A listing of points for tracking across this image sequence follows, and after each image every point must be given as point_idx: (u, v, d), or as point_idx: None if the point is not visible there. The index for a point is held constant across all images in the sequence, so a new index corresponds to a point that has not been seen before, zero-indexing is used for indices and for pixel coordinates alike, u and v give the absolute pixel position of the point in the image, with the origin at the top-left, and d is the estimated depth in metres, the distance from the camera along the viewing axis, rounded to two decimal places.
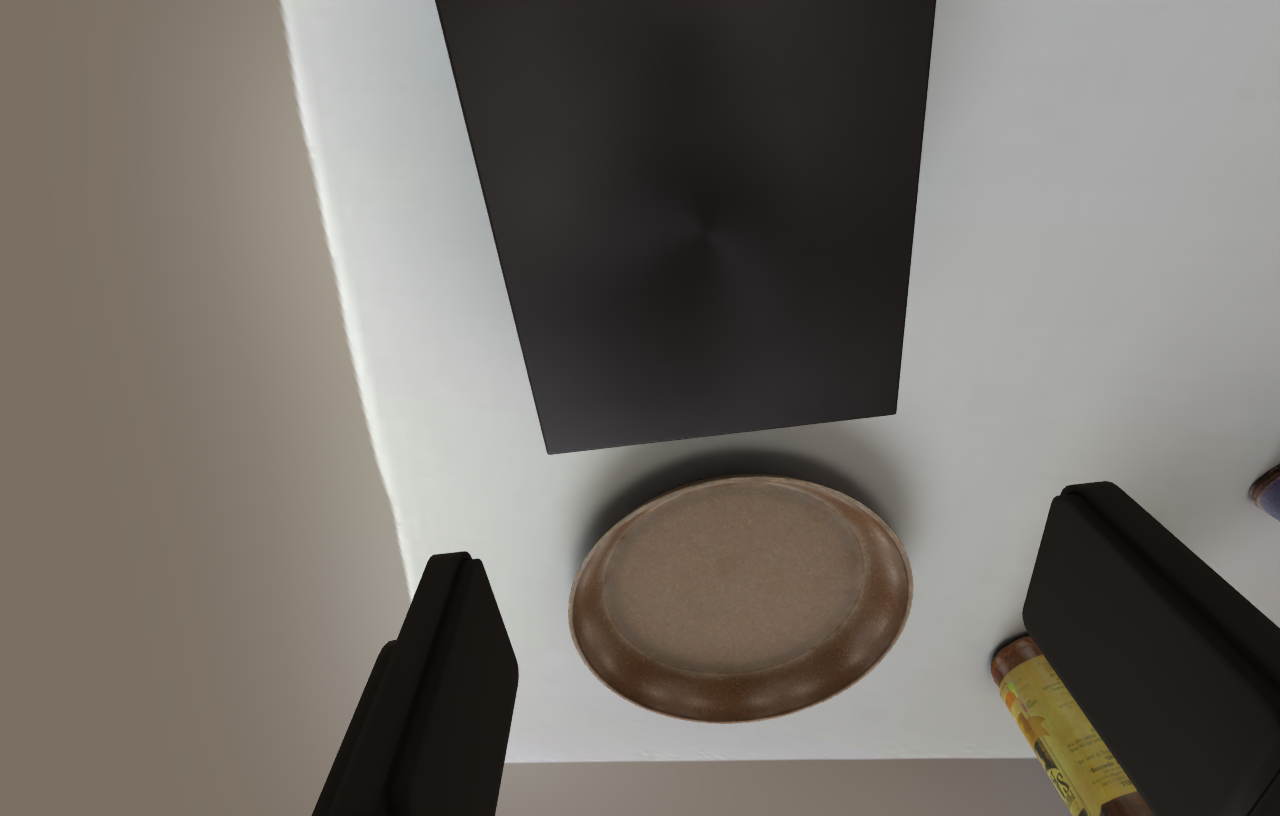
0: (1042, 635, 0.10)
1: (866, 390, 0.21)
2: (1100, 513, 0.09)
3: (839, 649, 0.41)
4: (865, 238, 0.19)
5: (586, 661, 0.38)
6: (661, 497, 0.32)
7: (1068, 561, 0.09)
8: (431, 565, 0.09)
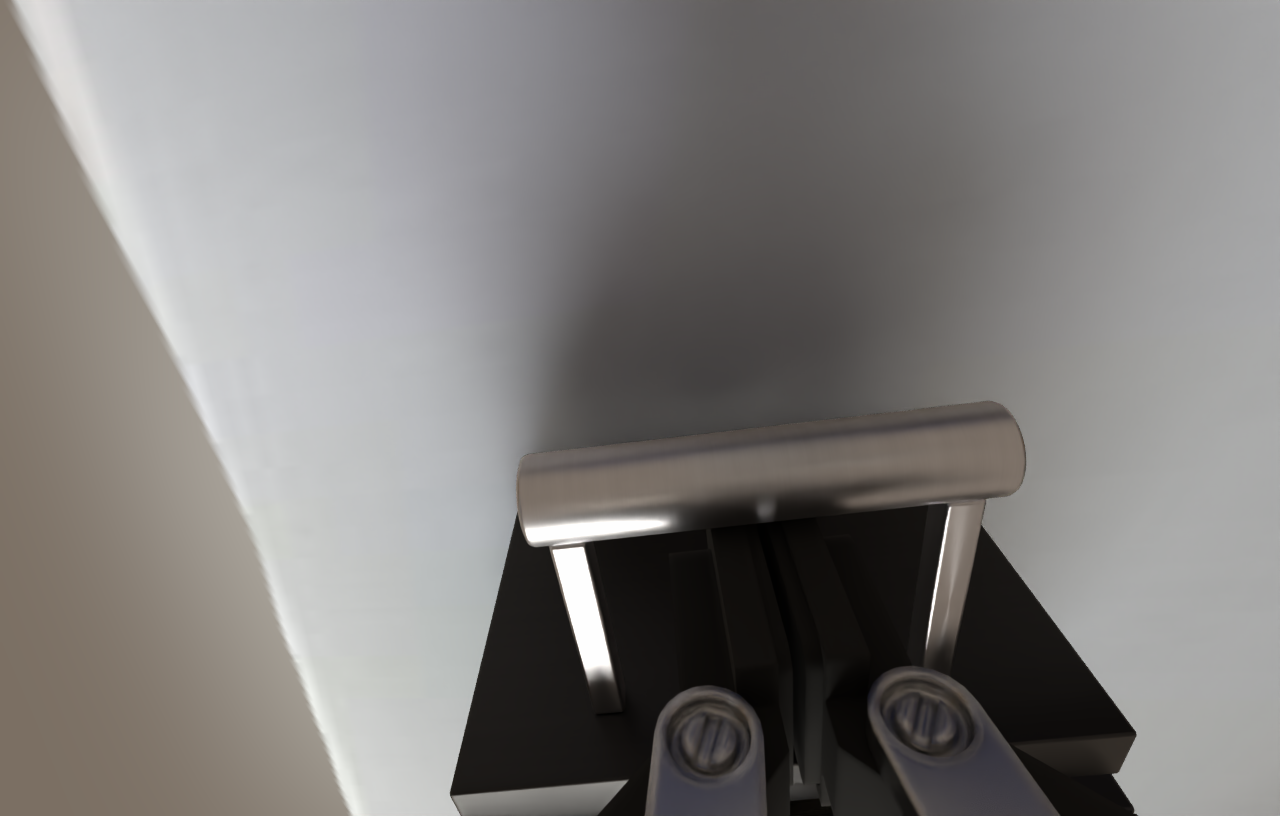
0: None
1: None
2: None
3: None
4: None
5: None
6: None
7: (759, 536, 0.10)
8: None
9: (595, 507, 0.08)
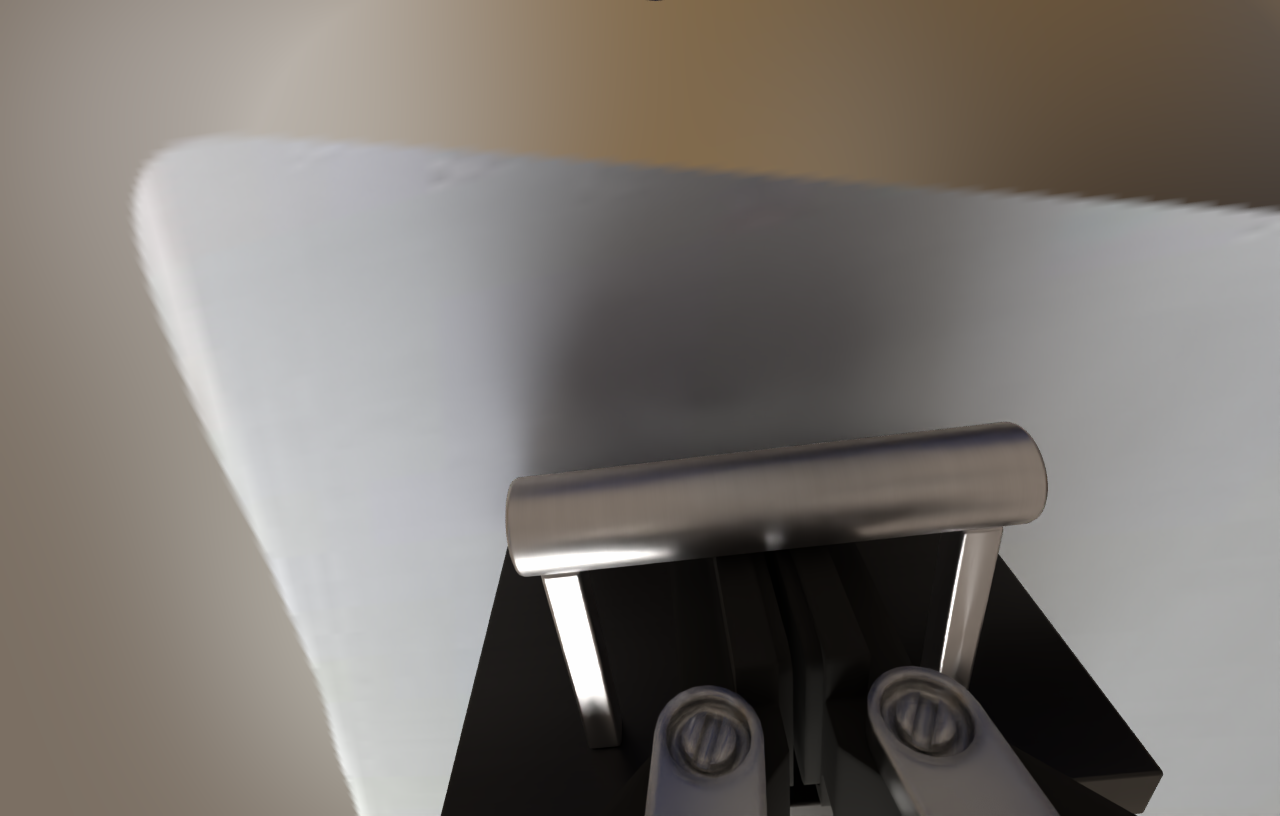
0: None
1: None
2: None
3: None
4: None
5: None
6: None
7: None
8: None
9: (589, 535, 0.08)
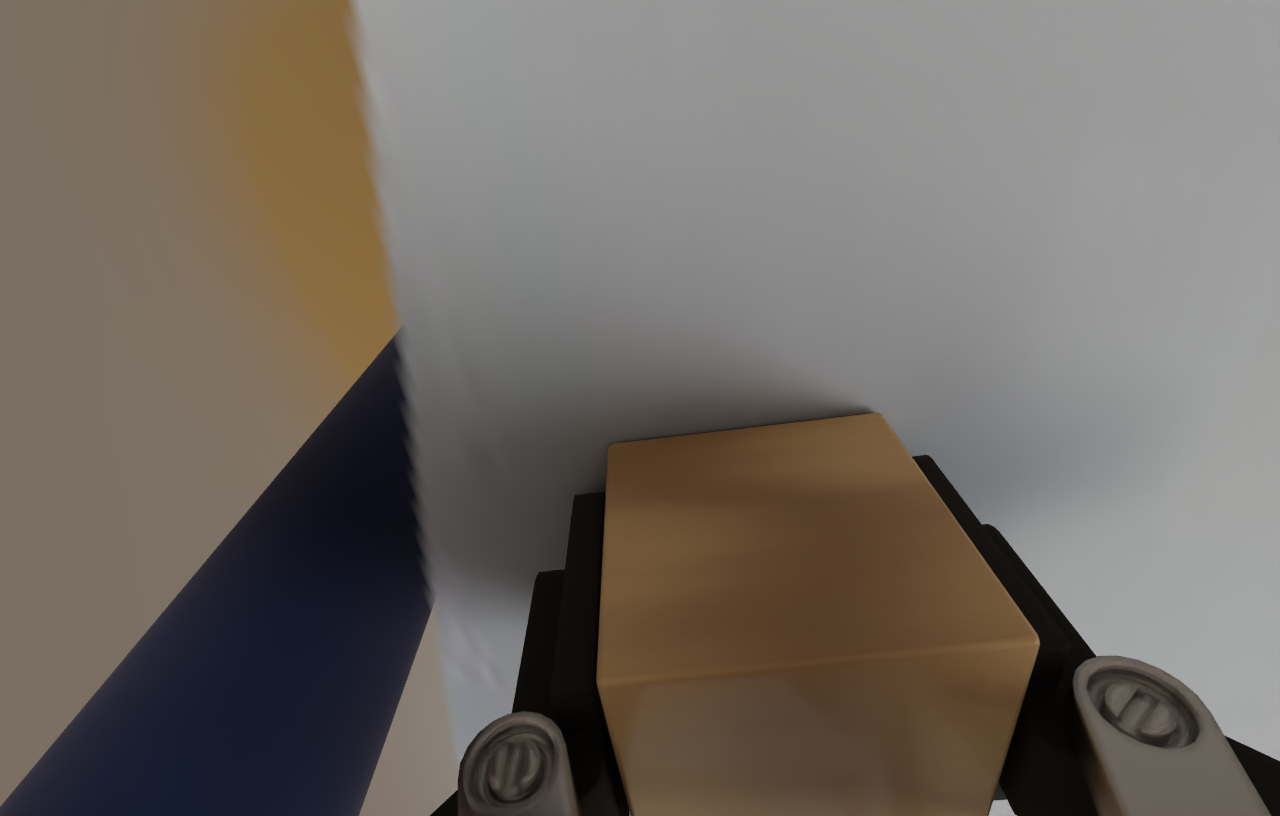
0: None
1: None
2: None
3: None
4: None
5: None
6: None
7: None
8: (578, 502, 0.10)
9: None
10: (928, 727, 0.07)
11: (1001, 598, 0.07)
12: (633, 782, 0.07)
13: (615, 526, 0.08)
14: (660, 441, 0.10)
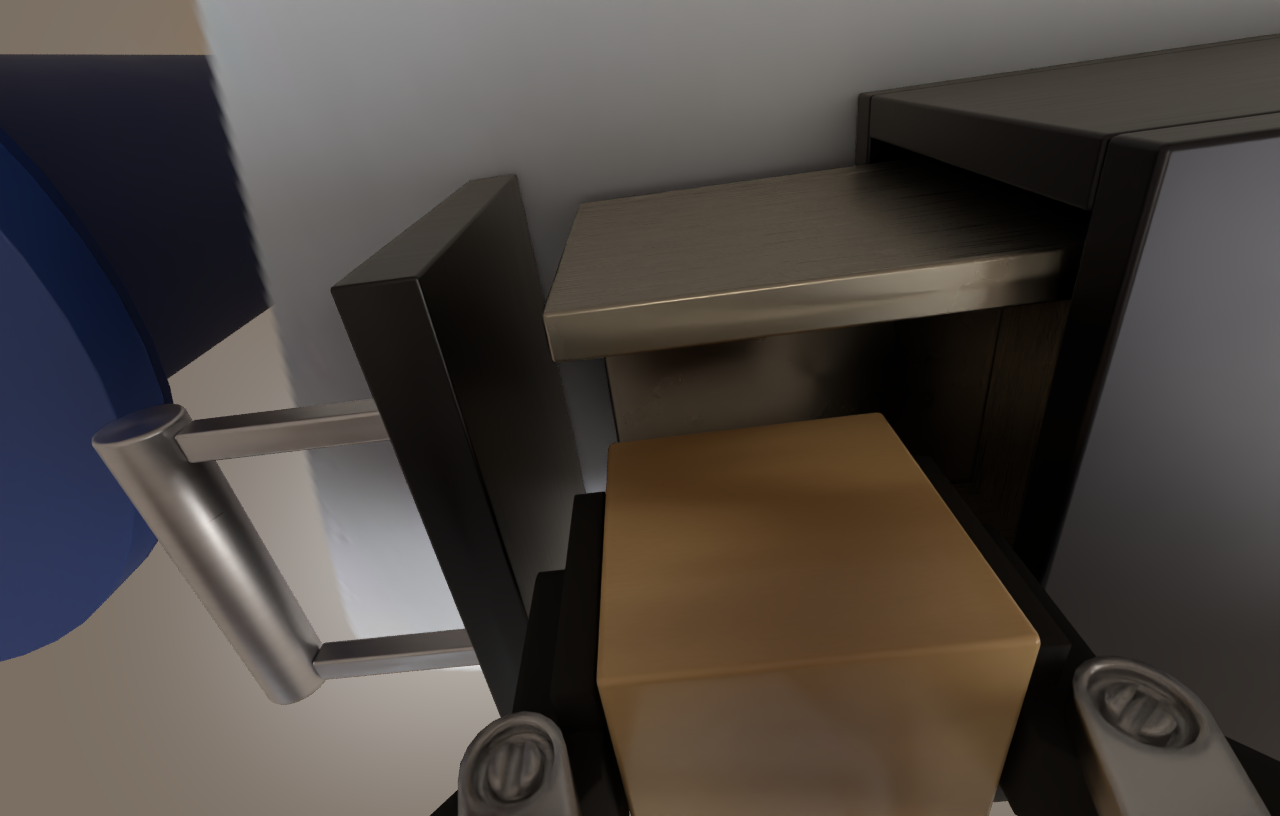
0: None
1: None
2: None
3: None
4: None
5: None
6: None
7: None
8: (578, 502, 0.10)
9: (254, 673, 0.13)
10: (928, 726, 0.07)
11: (1001, 596, 0.07)
12: (634, 781, 0.07)
13: (615, 525, 0.08)
14: (660, 441, 0.10)
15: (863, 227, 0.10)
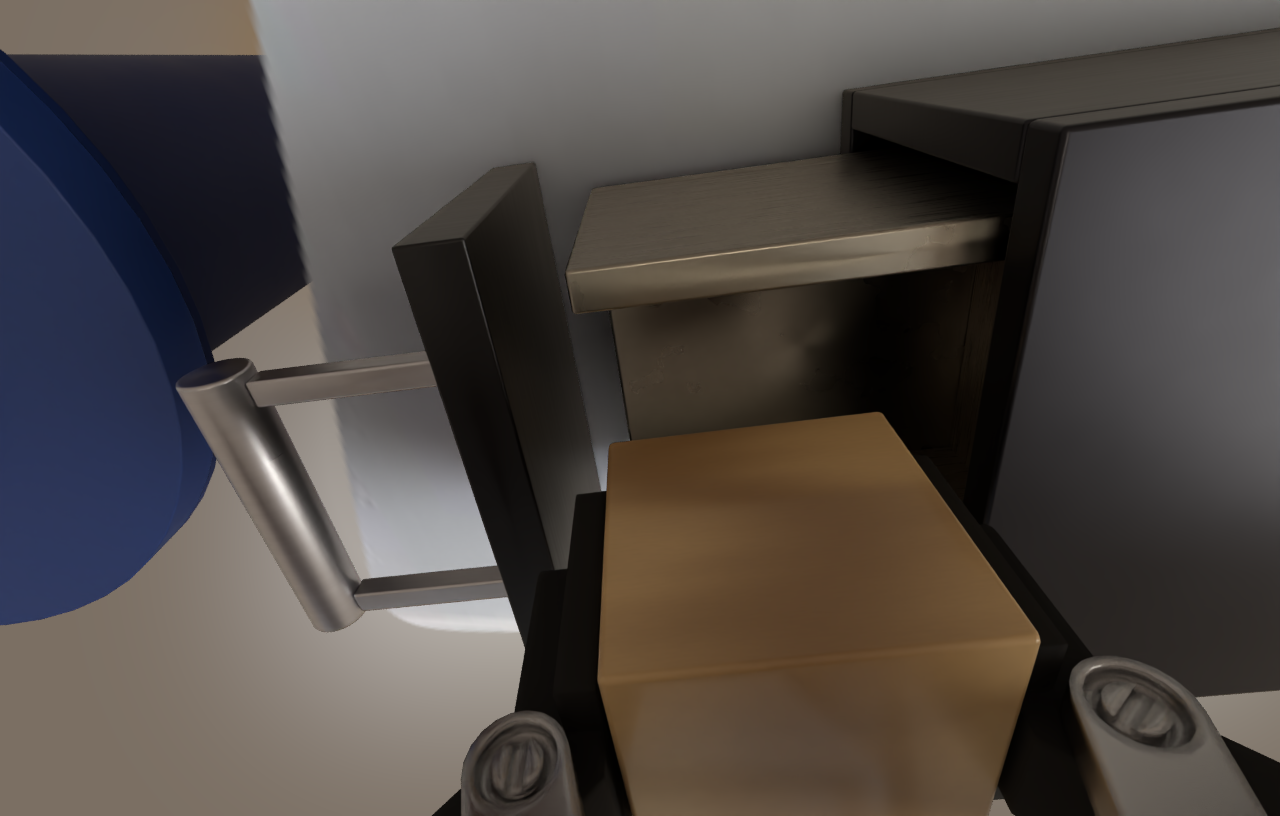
0: None
1: None
2: None
3: None
4: None
5: None
6: None
7: None
8: (580, 502, 0.10)
9: (303, 601, 0.15)
10: (929, 726, 0.07)
11: (1002, 596, 0.07)
12: (634, 780, 0.07)
13: (616, 525, 0.08)
14: (661, 440, 0.10)
15: (838, 202, 0.12)
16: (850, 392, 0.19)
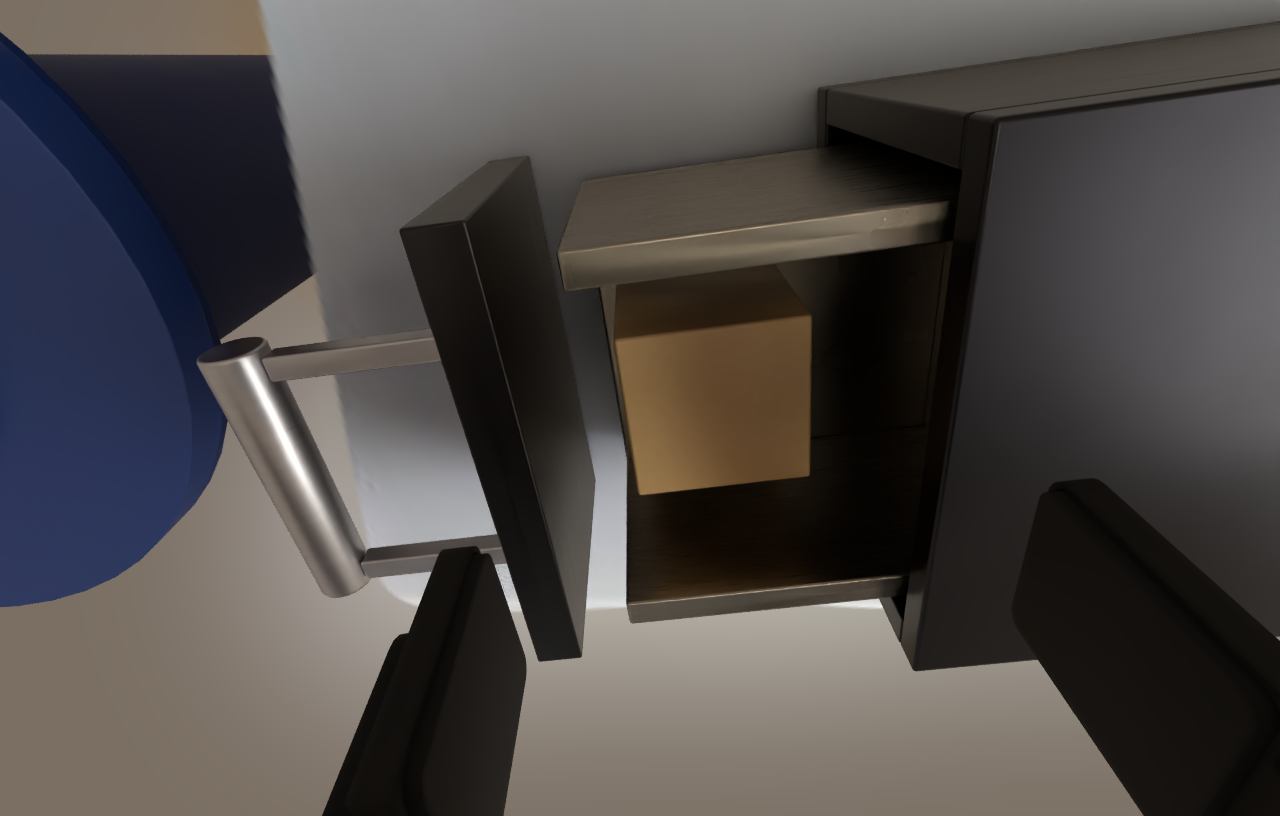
0: (1031, 630, 0.10)
1: None
2: (1086, 509, 0.09)
3: None
4: None
5: None
6: None
7: (1055, 557, 0.09)
8: (441, 559, 0.09)
9: (313, 568, 0.16)
10: (769, 372, 0.14)
11: (801, 306, 0.14)
12: (630, 408, 0.15)
13: (621, 302, 0.16)
14: None
15: (807, 190, 0.13)
16: (828, 374, 0.20)
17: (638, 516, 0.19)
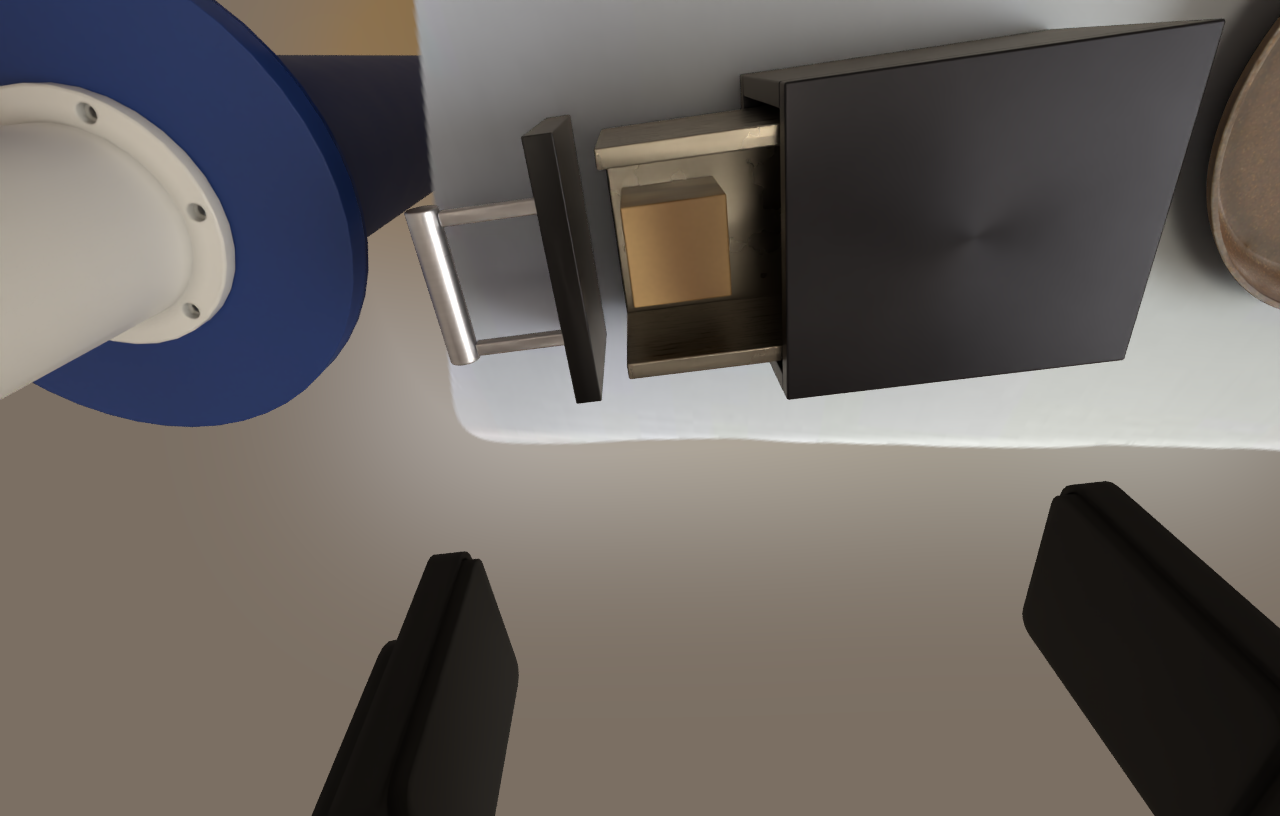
0: (1042, 634, 0.10)
1: (1180, 62, 0.21)
2: (1100, 513, 0.09)
3: None
4: (1018, 95, 0.21)
5: None
6: (1212, 214, 0.30)
7: (1068, 561, 0.09)
8: (431, 565, 0.09)
9: (450, 344, 0.28)
10: (705, 228, 0.27)
11: (721, 191, 0.26)
12: (629, 250, 0.27)
13: (624, 196, 0.28)
14: (638, 186, 0.30)
15: (719, 124, 0.25)
16: (752, 252, 0.32)
17: (634, 334, 0.31)
